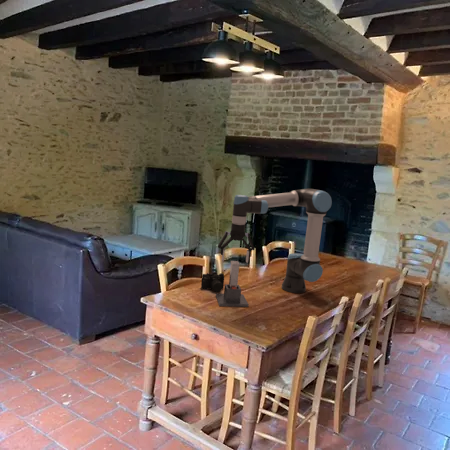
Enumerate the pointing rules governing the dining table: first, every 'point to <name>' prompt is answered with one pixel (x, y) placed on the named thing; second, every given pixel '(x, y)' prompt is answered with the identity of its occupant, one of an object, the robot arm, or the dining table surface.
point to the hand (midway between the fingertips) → (234, 261)
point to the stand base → (232, 297)
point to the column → (234, 274)
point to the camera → (212, 281)
